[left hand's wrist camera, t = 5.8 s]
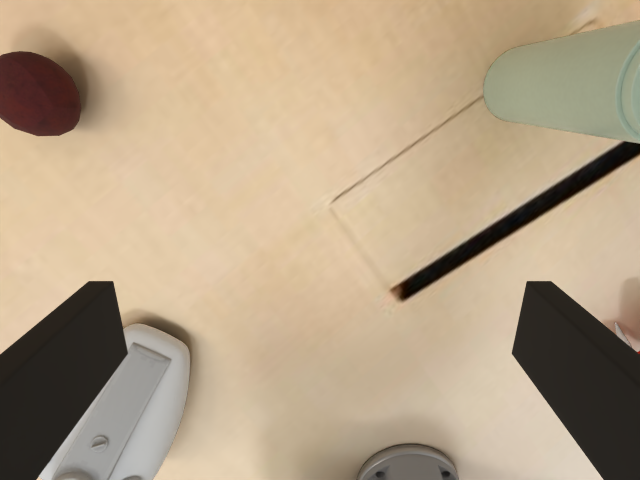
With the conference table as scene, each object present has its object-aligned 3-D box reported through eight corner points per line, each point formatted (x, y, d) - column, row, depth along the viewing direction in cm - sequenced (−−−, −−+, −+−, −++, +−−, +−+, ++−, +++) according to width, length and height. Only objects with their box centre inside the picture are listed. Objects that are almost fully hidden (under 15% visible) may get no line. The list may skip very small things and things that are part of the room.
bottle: (475, 63, 40) (713, 22, 16) (547, 33, 39) (917, -59, 15) (491, 132, 42) (719, 187, 18) (559, 106, 41) (895, 127, 17)
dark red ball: (55, 39, 39) (1, 28, 32) (111, 108, 41) (71, 111, 34) (5, 84, 40) (-57, 82, 34) (62, 148, 42) (14, 158, 36)
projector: (238, 434, 57) (213, 543, 43) (97, 469, 59) (31, 582, 46) (173, 307, 49) (117, 390, 36) (15, 353, 52) (-94, 447, 38)
